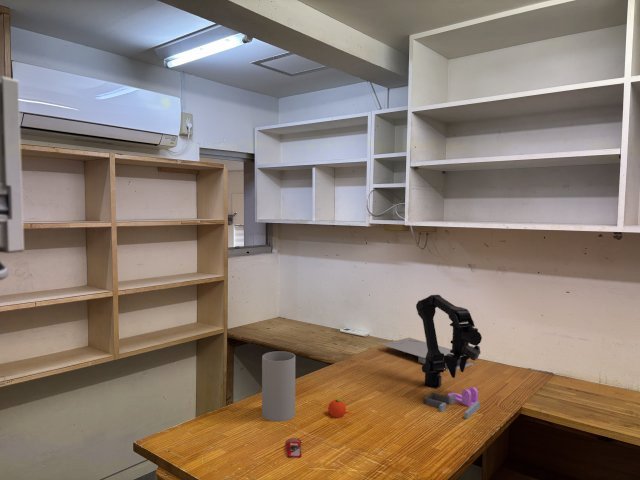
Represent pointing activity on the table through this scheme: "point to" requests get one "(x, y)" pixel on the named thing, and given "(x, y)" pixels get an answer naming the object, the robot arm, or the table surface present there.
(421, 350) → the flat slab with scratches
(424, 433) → the table surface
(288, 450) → the red labelled container
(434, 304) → the robot arm
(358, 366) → the table surface
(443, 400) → the trap pit
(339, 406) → the tomato
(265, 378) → the cylinder vase
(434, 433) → the table surface
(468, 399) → the bracket
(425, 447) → the table surface
